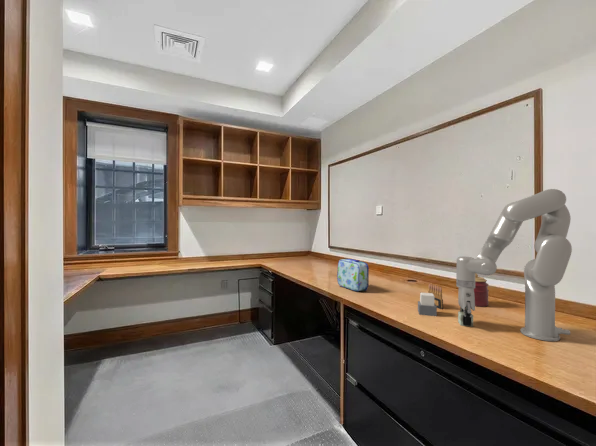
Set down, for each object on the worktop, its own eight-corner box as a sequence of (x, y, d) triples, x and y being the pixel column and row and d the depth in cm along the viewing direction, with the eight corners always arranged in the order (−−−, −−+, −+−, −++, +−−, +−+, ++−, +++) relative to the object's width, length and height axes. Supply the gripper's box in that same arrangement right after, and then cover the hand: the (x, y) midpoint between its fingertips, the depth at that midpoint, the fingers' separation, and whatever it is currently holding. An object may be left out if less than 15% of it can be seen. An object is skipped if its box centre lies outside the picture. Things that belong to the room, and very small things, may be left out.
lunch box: (371, 291, 191) (371, 260, 191) (358, 293, 186) (358, 261, 186) (347, 284, 215) (347, 256, 215) (335, 285, 210) (336, 257, 210)
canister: (473, 300, 172) (473, 271, 172) (494, 306, 160) (494, 274, 160) (456, 301, 168) (457, 272, 168) (476, 307, 156) (476, 275, 156)
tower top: (432, 302, 148) (432, 293, 148) (434, 306, 143) (434, 296, 143) (420, 301, 150) (420, 292, 150) (421, 304, 144) (421, 295, 144)
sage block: (470, 323, 132) (470, 312, 132) (473, 326, 127) (473, 315, 127) (458, 321, 134) (458, 311, 134) (460, 325, 129) (460, 314, 129)
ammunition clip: (443, 308, 154) (443, 286, 154) (440, 309, 153) (440, 287, 153) (429, 303, 164) (429, 282, 164) (427, 303, 164) (427, 282, 164)
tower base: (434, 312, 149) (434, 302, 149) (436, 316, 141) (436, 306, 141) (417, 310, 151) (417, 301, 151) (419, 315, 144) (419, 305, 144)
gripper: (480, 288, 121) (480, 330, 121) (469, 280, 137) (469, 318, 137) (461, 287, 123) (460, 328, 123) (452, 279, 140) (452, 316, 140)
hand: (465, 322), depth 130 cm, fingers closed on sage block, 5 cm apart
